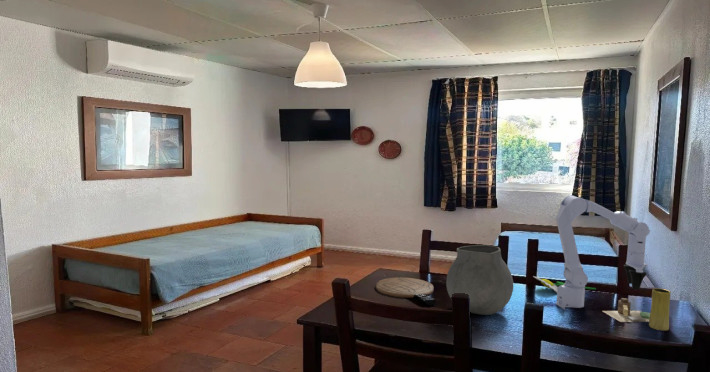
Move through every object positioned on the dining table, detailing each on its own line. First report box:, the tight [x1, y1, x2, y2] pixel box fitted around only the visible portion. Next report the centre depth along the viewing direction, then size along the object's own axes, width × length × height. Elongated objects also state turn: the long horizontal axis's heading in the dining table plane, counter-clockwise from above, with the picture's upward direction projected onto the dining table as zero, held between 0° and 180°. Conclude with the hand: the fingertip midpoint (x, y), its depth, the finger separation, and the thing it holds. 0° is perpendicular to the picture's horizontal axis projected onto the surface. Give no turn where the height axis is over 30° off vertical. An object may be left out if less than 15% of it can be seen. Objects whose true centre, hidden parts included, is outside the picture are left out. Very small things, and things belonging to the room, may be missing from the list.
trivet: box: [375, 277, 434, 299], centre depth 205 cm, size 25×25×2 cm
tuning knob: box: [617, 297, 632, 316], centre depth 173 cm, size 10×4×5 cm, turn 154°
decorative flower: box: [532, 275, 597, 294], centre depth 207 cm, size 13×5×30 cm
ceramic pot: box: [446, 244, 514, 316], centre depth 177 cm, size 24×24×25 cm
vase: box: [648, 287, 671, 331], centre depth 162 cm, size 6×6×14 cm
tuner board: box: [602, 310, 650, 323], centre depth 173 cm, size 16×11×2 cm
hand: (633, 286), depth 181 cm, fingers open, 7 cm apart
